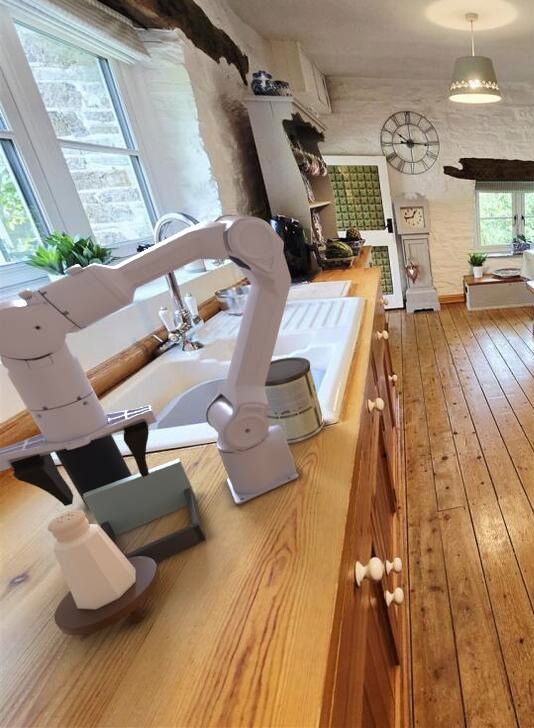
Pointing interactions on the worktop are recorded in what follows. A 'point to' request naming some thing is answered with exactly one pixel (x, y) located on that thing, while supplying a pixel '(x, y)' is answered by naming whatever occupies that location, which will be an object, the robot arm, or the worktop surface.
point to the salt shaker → (90, 561)
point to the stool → (96, 619)
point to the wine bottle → (94, 464)
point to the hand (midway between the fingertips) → (108, 486)
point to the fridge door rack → (148, 508)
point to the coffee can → (293, 399)
